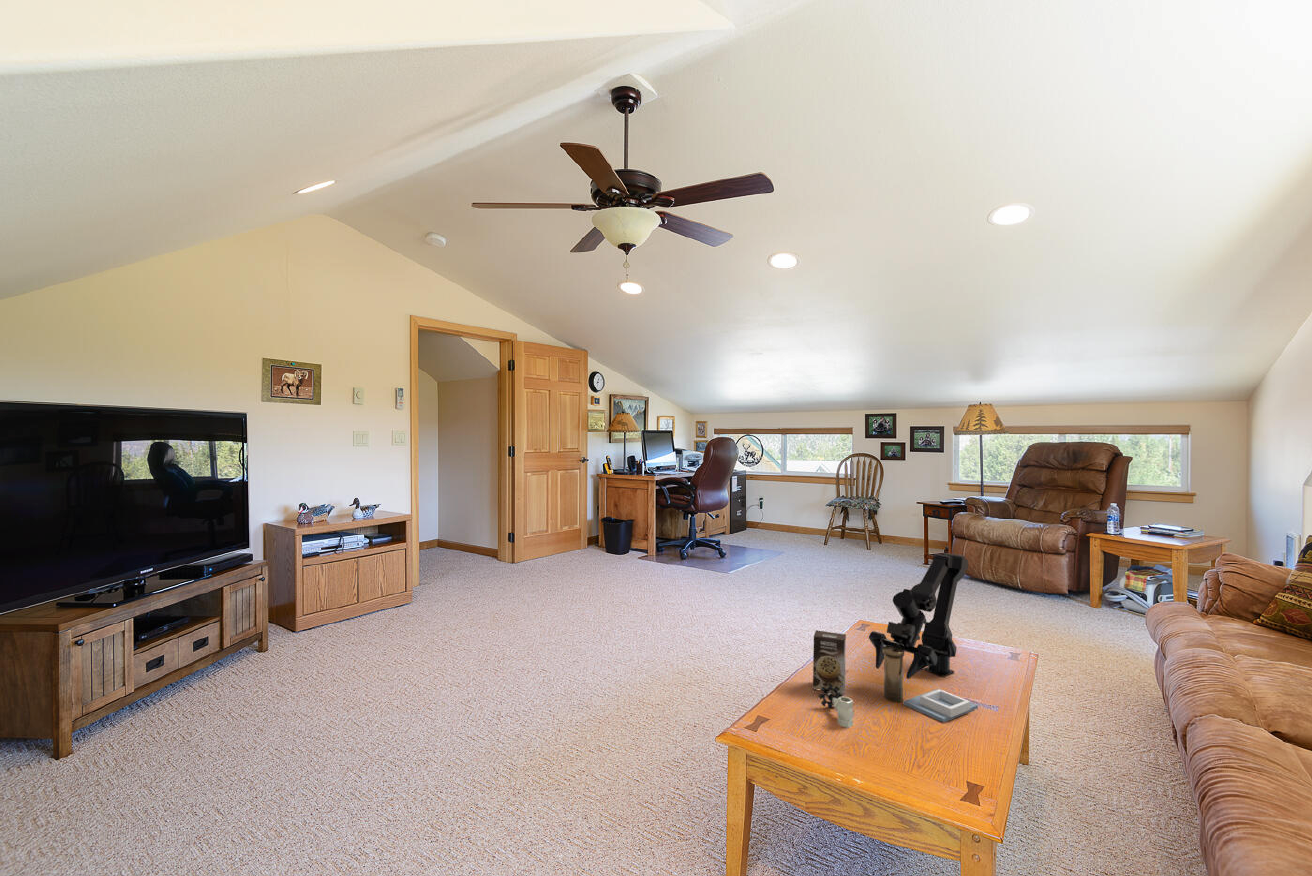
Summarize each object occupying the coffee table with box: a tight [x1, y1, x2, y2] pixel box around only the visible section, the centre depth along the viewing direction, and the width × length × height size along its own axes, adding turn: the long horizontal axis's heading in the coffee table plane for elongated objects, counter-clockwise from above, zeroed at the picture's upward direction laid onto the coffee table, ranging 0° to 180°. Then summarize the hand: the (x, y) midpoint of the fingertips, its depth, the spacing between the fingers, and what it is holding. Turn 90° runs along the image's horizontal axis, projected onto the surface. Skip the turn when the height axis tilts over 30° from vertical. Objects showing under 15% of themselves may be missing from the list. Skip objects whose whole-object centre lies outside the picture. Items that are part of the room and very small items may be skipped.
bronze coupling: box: [883, 646, 905, 703], centre depth 164 cm, size 6×6×14 cm
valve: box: [818, 684, 855, 729], centre depth 152 cm, size 7×7×12 cm
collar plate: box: [902, 688, 979, 724], centre depth 159 cm, size 16×12×3 cm
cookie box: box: [812, 629, 847, 696], centre depth 170 cm, size 9×6×16 cm
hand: (891, 672), depth 163 cm, fingers open, 9 cm apart
